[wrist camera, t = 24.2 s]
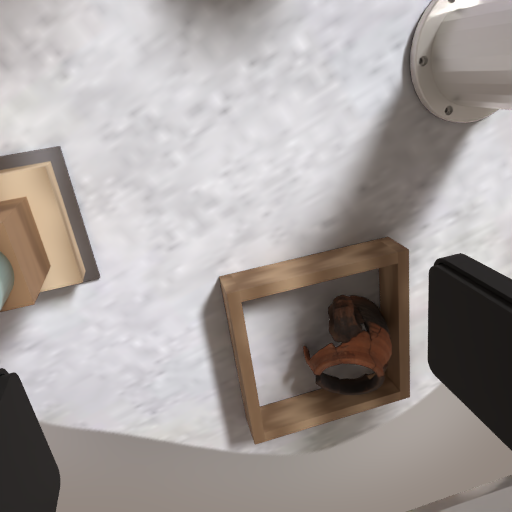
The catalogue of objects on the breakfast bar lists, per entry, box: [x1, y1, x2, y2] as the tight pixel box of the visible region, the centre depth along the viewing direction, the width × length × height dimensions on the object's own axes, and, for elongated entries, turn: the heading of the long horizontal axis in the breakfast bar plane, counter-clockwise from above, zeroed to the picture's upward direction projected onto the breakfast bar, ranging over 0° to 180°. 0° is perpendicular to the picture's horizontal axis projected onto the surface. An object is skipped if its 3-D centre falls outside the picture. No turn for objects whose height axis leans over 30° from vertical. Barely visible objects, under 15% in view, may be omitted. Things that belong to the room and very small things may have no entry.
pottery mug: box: [303, 295, 392, 395], centre depth 48 cm, size 12×10×8 cm
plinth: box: [0, 146, 100, 292], centre depth 37 cm, size 12×12×3 cm
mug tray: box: [219, 237, 410, 444], centre depth 48 cm, size 18×18×4 cm
